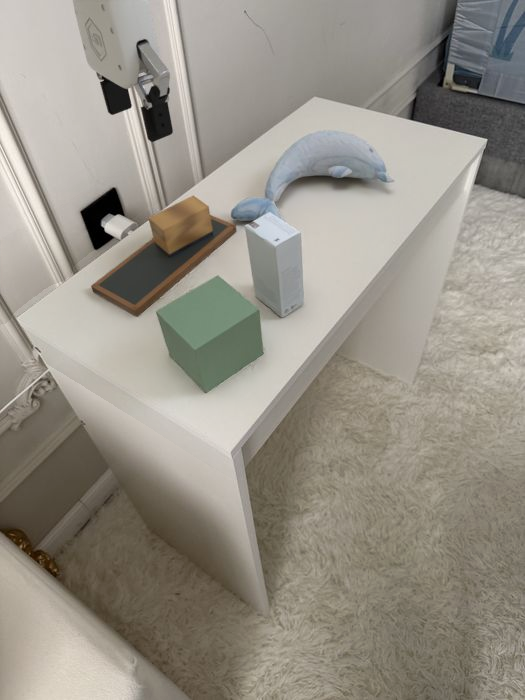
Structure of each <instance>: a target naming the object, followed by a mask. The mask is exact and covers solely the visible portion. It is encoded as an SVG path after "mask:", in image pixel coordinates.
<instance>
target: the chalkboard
mask: <svg viewBox="0 0 525 700" xmlns="http://www.w3.org/2000/svg"><path fill="white" fill-rule="evenodd" d="M210 217H211V223H212V229H213V234H212V235H211V236H209V237H207V238H205V239H203V240H201V241H200V242H198V243H196V244H194V245H192V246H190V247H188V248H187V249H185V250H183V251H181V252H179V253H177V254H176V255H174V256H172V257H169V256H168V255H166V254H165V253H164V252H163V251H162V250H161V249H159V248H158V247H157V246H156V244H155V241H154V237H152V238H150V240H149V241H147V242H146V243H145V244H143V245H142V246H140V247H139V248H138V249H137V250H135V251H134V252H133V253H132V254H130V255H129V256H127V258H125V259H123V261H121V262H120V263H119V264H117V265H116V266H115V267H114V268H112V269H111V270H110V271H108V272H107V273H106V274H104V275H103V276H102V277H101V278H99V279H98V280H97V281H95V282H94V283H92V284H91V285H90V288H91V291H92V293H94V294H96V295H98V296H99V297H101V298H102V299H104V300H106V301H108V302H110V303H112V304H113V305H114V306H117V307H119V308H121V309H122V310H124V311H126V312H128V313H129V314H131V315H132V316H135V317H139V316H140V315H141V314H142V313H144V312H145V311H146V310H147V309H148V308H149V307H150V306H151V305H153V304H154V303H155V302H156V301H157V300H159V299H160V298H161V297H162V296H163V295H164V294H166V293H167V292H168V291H169V290H170V289H171V288H173V287H174V286H175V285H176V284H177V283H178V282H180V281H181V280H182V279H183V278H185V276H187V275H188V274H189V273H190V272H191V271H192V270H193V269H195V268H196V267H197V266H199V264H201V263H202V262H203V261H204V260H205V259H207V258H208V257H209V256H210V255H211V254H212V253H213V252H215V251H216V250H217V249H218V248H220V246H221V245H223V244H224V243H225V242H226V241H227V240H229V239H230V238H231V237H232V236H233V235H234V234H235V233H237V225H236V224H234V223H231V222H229V221H226V220H224V219H221V218H219V217H216V216H214V215H212V214H210Z"/></svg>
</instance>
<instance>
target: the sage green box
mask: <svg viewBox="0 0 525 700" xmlns="http://www.w3.org/2000/svg"><path fill="white" fill-rule="evenodd" d="M155 313H156V317H157V321H158V324H159V326H160V327H159V328H160V329H161V332H162V336H163V340H164V343H165V345H166V349H167V352H168V355H169V357H170V358H172V360H173V361H174V362H175V363H176V364H177V365H178V366H179V367H180V368H181V369H182V370H183V371H184V372H185V373H186V374H187V376H189V377H190V379H191V380H192V381H193V382H194V383H195V384H196V385H197V386H198V387H199V388H200V389H201V390H202V391H203V392H204V393H206V394H207V393H208V392H209V391H211V390H213V389H214V388H216V387H217V386H219V385H220V384H221V383H223V382H224V381H226V380H228V379H229V378H230V377H232V376H233V375H235V374H236V373H238V372H239V371H241V370H242V369H243V368H245V367H246V366H248V365H250V364H251V363H252V362H254V361H256V360H257V359H258V358H260V357H262V356H263V355H264V344H263V333H262V323H261V313H260V308H258V307H257V306H256V305H255V304H254V303H252V302H251V301H250V300H249V299H248V298H246V297H245V296H244V295H242V293H240V292H239V291H238V290H237V289H236V288H234V287H233V286H232V285H231V284H229V283H228V282H227V281H226V280H224V279H223V278H222V277H221V276H220V275H218V274H217V275H216V276H213V277H212V278H210V279H209V280H206V281H205V282H203V283H201V284H200V285H198V286H197V287H195V288H193V289H191V290H189V291H188V292H186V293H185V294H182V295H181V296H180V297H178V298H176V299H174V300H172V301H171V302H169V303H167V304H166V305H164V306H162V307H161V308H159V309H157V310H156V311H155Z"/></svg>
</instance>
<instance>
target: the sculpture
mask: <svg viewBox="0 0 525 700" xmlns="http://www.w3.org/2000/svg"><path fill="white" fill-rule="evenodd" d="M312 176H314V177H315V176H326V177H327V176H328V177H329V176H330V177H332V178H338V179H340V178H353V179H367V180H372V181H373V180H374V181H376V180H378V181H381V182H383V183H386V184H390V183H394V182H395V179H394V178H393V176H392V175H390V174H389V173H387V167H386V164H385V162H384V160H383V159H382V157H381V155H380V154H379V153H378V152H377V150H376V149H375V148H374V147H373V146H372V145H371V144H370V143H368V141H366V140H365V139H363V138H361V137H358V136H357V135H355V134H351V133H349V132H345V131H341V130H333V129H328V130H327V129H326V130H319V131H316V132H312V133H309V134H307V135H305V136H302V137H301V138H299V139H298V140H296V141H295V142H294V143H292V144H291V146H289V147H288V148H287V149H286V150H285V152H283V154H282V155H281V156H280V157H279V158H278V160H277V162H275V164H274V166H273V168H272V170H271V171H270V173H269V175H268V178H267V182H266V184H265V188H264V197H247V198H244V199H243V200H241V201H240V202H238V203H237V204H236V205H235V206H234V207H233V208H232V209H231V211H230V216H231V219H233V220H236V221H240V222H242V221H243V222H244V221H245V222H246V221H254V220H256V219H258V218H259V217H261V216H263V215H265V214H267V213H269V212H271V213H272V214H274V215H275V216H277V217H278V218H280V219H281V220H283V221H284V222H286V219H285V218H284V216H283V214H282V213H281V211H280V210H279V208H278V207H277V205H276V203H275V202H277V201H279V199H280V197H281V195H282V193H283V192H284V191H285V189H286V188H287V187H288V186H290V184H291V183H292V182H294V181H296V180H297V179H299V178H304V177H312ZM286 223H287V222H286Z"/></svg>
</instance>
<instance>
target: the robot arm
mask: <svg viewBox="0 0 525 700" xmlns="http://www.w3.org/2000/svg"><path fill="white" fill-rule="evenodd" d="M72 5H73V9H74V14H75V18H76V22H77V26H78V31H79V34H80V35H79V36H80V39H81V43H82V48H83V51H84V55H85V59H86V62H87V64H88V66H89V67H90V69H92V70H93V71H94V72H95V74H96V77H97V79H98V80H99V84H100V88H101V92H102V95H103V99H104V103H105V107H106V109H107V113H108V114H109V115H111V116H115V115H117V114H120V113H122V112H124V111H128V110H130V109H131V108H132V107H133V104H132V100H131V95H130V91H129V89H131V88H132V86H133V87H134V89H135V91H136V93H137V96H138V97H139V99H140V101H141V103H142V105H143V106H140V111H141V115H142V119H143V123H144V128H145V133H146V137H147V140H148V141H149V142H151V143H154V142H156V141H159V140H161V139H164V138H166V137H169V136H171V135H172V134H173V132H174V129H173V124H172V123H173V122H172V119H171V112H170V107H169V102H170V96H169V94H170V93H171V91H170V90H171V88H170V80H171V79H170V78H171V74H170V71H169V70H170V69H168V67H167V66H166V65H165V63H164V62H163V60H162V59H161V53H160V47H159V42H158V38H157V33H156V29H155V23H154V20H153V15H152V12H151V7H150V3H149V1H148V0H72ZM140 74H143V75H140ZM139 75H140V76H139ZM148 84H152V85H151V87H150V88H149V91H148V92H147V90H146V87H145V86H146V85H148Z"/></svg>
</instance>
